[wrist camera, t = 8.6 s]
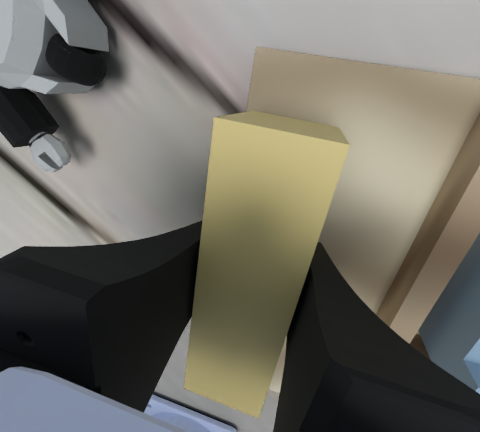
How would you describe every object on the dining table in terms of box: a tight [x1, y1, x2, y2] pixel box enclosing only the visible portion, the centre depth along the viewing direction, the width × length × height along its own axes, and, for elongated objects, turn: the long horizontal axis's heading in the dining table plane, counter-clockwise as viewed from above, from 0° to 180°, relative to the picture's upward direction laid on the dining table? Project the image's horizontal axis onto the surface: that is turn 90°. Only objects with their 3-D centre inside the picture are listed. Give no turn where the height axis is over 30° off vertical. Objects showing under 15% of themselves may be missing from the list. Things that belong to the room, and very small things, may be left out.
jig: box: [246, 47, 480, 393], centre depth 12 cm, size 18×16×2 cm
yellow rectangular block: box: [184, 111, 350, 419], centre depth 10 cm, size 10×3×4 cm, turn 171°
